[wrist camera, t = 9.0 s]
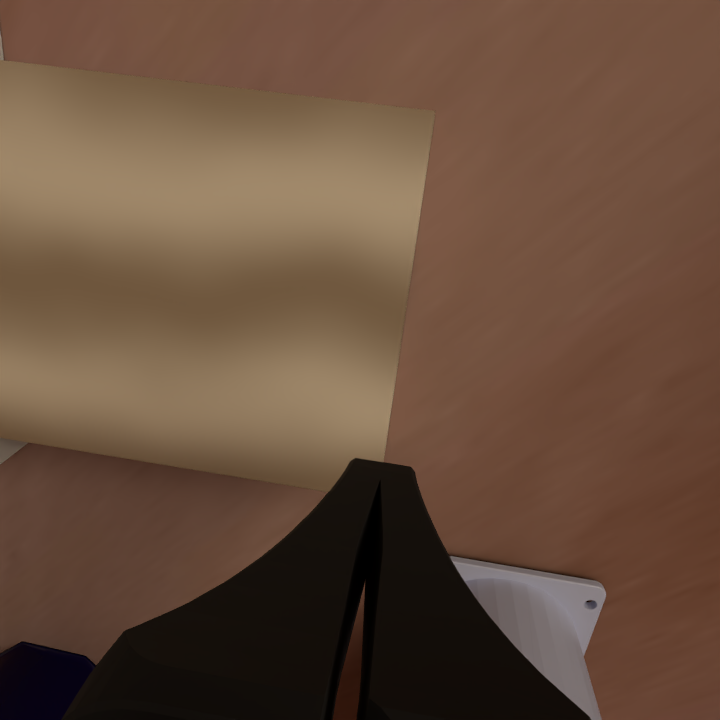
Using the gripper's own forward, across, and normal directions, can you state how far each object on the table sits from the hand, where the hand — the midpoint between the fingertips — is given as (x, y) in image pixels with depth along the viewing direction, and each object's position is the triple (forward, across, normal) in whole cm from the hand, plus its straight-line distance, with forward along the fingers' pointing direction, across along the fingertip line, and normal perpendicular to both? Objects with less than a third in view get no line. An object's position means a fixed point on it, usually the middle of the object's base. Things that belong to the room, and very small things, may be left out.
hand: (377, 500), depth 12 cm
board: (+9, +7, -2) cm, 12 cm away
